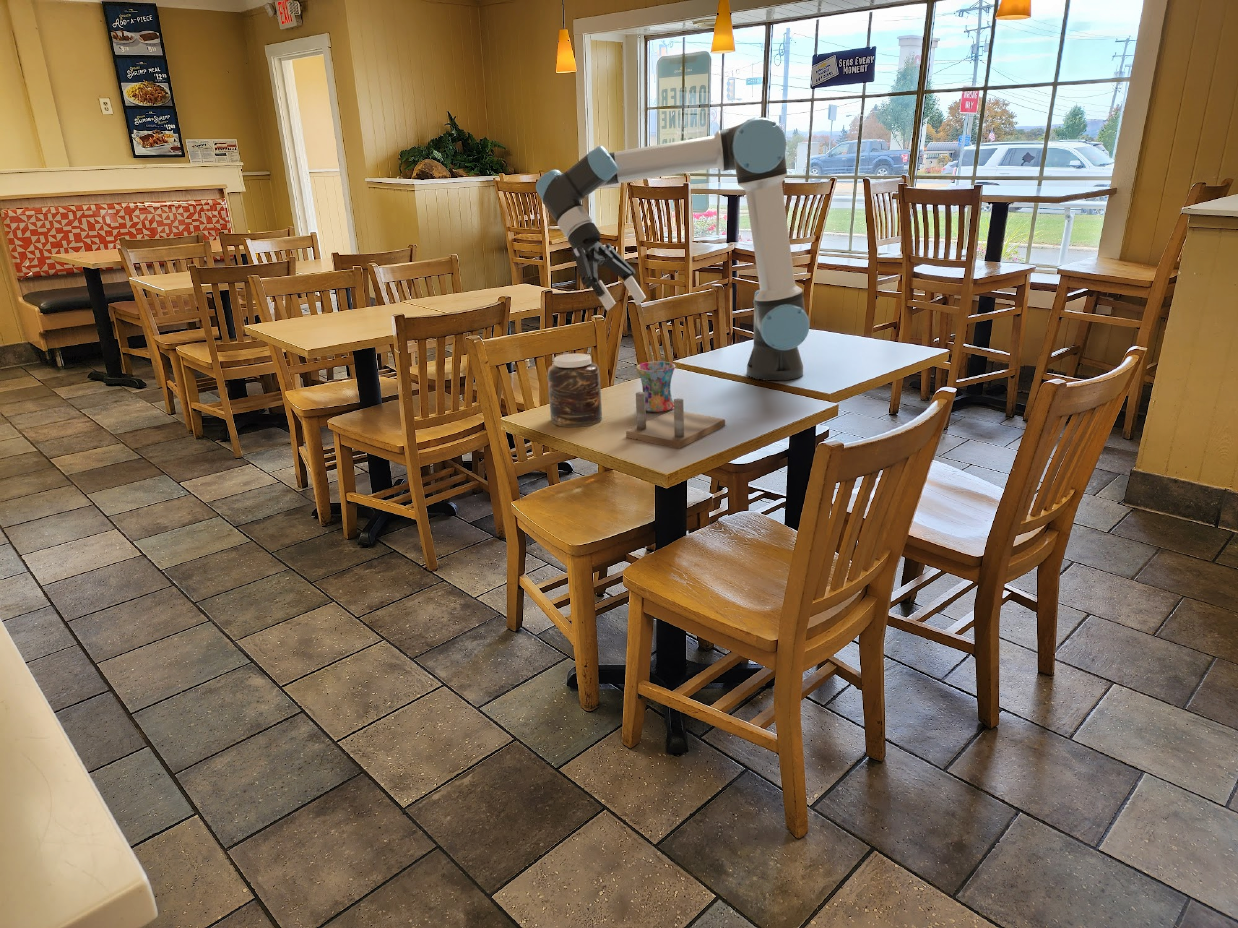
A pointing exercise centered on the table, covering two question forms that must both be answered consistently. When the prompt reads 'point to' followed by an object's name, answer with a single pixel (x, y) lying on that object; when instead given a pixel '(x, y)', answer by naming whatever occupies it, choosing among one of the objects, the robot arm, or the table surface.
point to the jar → (574, 391)
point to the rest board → (672, 425)
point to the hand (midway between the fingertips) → (627, 304)
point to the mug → (657, 385)
